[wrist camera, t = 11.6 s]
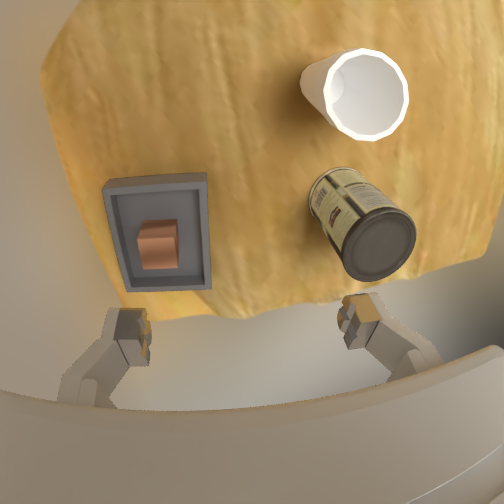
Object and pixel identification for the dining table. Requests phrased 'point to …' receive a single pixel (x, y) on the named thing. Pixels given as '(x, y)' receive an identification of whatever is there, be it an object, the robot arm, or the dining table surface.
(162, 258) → the block
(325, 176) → the coffee can
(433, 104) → the dining table surface
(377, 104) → the foam cup
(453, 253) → the dining table surface
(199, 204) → the tray
